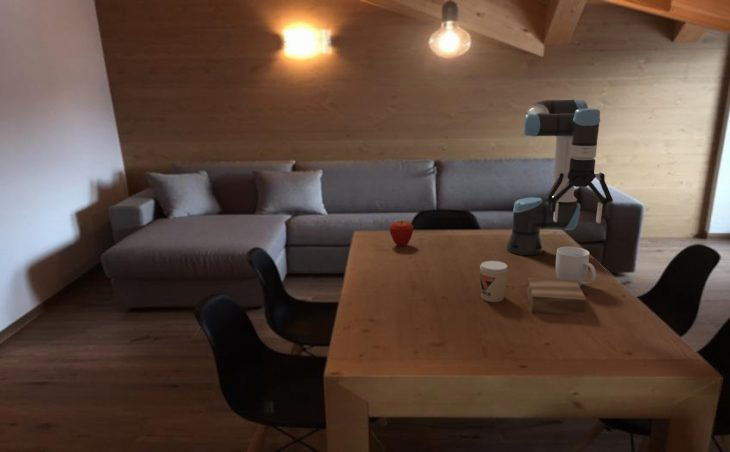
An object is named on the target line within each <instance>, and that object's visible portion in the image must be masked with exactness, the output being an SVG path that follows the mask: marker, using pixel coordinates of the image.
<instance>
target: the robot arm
mask: <svg viewBox="0 0 730 452" xmlns="http://www.w3.org/2000/svg"><path fill="white" fill-rule="evenodd" d="M523 118H524V120H523V121H524V122H523V123H524V124H523V135H525V136H526V137H528V136H529V137H555V138H556V139H555V141H556V142H555V151H554V152H555V153H554V167H553V176H552V177H553V178H552V187H551V188H550V190H549V191H548V193H547V194H546V196H545V198H546V200H547V201H543V198H540V197H531V196H530V197H524V198H519V199H518V200H516V201H515V202H514V204H513V210H512V213H513V214H512V215H513V216H512V225H511V226H512V229H511V235H510V237H509V239H508V242H507V245H506V250H507V251H508V252H509V253H512V254H515V255H519V256H520V255H521V256H537V255H541V254H543V248H544V247H543V243H542V239H541V233H540V232H541V229H543V230H557V231H558V230H559V231H572V230H574V229H575V228H576V227H577V225H578V223H579V219H580V214H581V204H580V203H579V202H578V198H576V197H575V195H574V194H575V188H580V187H582V188H586V187H589V188H590V190H591V191H592V193H593V194H594V195H595V196H596V197H597V198H598V200H599V201H598V202H597V208H596V209H597V210H596V217H595V219H596V220H595V222H596V223H597V224H602V222H601V220H602V214H605V212H606V205H607V204H608V203H611V202H613V201H614V200H613V197H612V194H611V192H610V190H609V188H608V185H607V183H606V181H605V180H606V179H605V178H606V176H605V174H604V173H603V172H599V173H595V167H596V160H595V159H596V157H597V148H598V139H599V137H598V136H599V131H600V129H599V128H600V123H601V111H600V110H599V109H597V108H589V107H588V103H587V102H586V101H585V100H582V99H553V100H552V99H548V100H541V101H537V102H535V103H532V104H530V105H529V106H528V107H527V108H526V109H525V111H524V115H523ZM595 178H596V180H597V181H598V182H599V184H600V187H601V189H602V191H603V194H604V195H605V197H604V196H603V194H601V192H600V191H599V190H598V188H597V186H595V185H594V183H593V181H594V179H595Z"/></svg>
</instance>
